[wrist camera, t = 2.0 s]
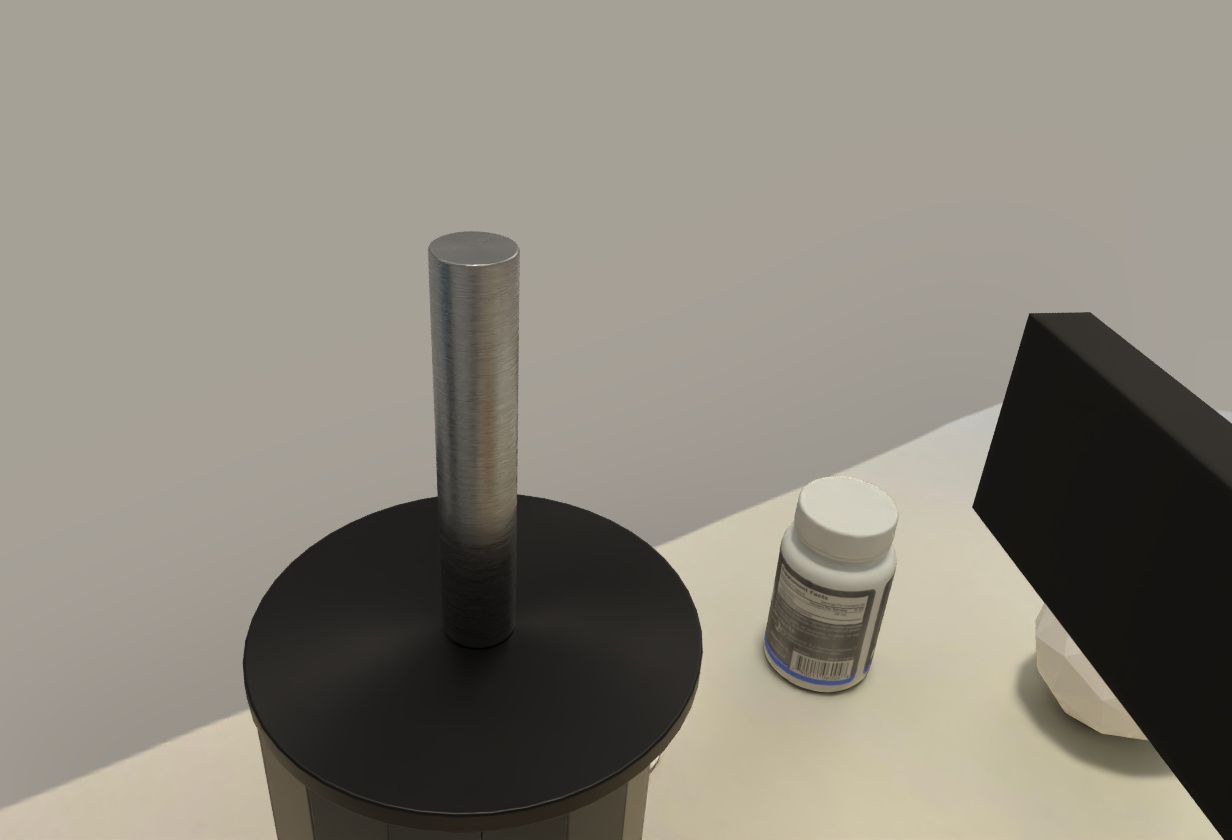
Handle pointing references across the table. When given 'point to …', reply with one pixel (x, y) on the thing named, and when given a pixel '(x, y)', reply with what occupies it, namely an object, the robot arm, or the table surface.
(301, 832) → the faceted pencil cup
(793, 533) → the pill bottle
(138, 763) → the table surface
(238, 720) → the table surface
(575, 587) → the lid
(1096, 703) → the ornament
